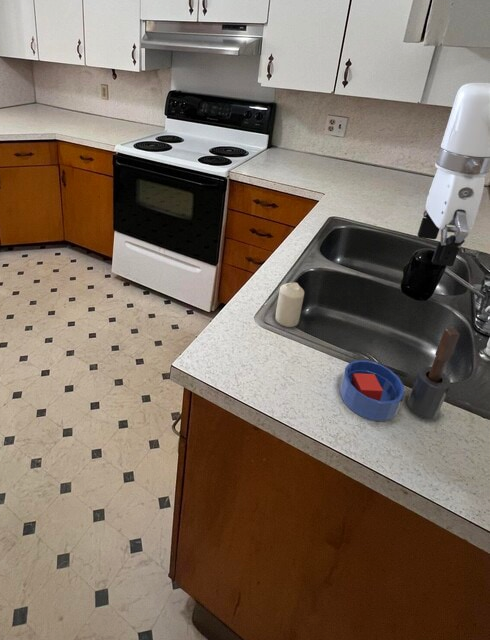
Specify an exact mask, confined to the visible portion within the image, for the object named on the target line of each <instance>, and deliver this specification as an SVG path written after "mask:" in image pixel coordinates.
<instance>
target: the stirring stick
mask: <svg viewBox="0 0 490 640" xmlns="http://www.w3.org/2000/svg"><path fill="white" fill-rule="evenodd" d="M460 335H461V334H460V333H459V332H458V331H457V329H456V328H451V327H450V328H449V327H445V328H444V330H443V333H442V335H441V338H440V340H439V343H438V346H437V349H436V351H435V354H434V355H435V357H434V360H433V362H432V365H431V366H430V367H431V370H430V373H429V375H428V379H429V380H431V381H433V382H435V383H439V381H440V378H441V376H442V374H443V373H444V372H445V369H446V366H447V364H448V362H450V360H451V358H452V355H453V353H454V350H455V348H456V345H457V343H458V341H459V338H460Z"/></svg>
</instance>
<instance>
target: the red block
mask: <svg viewBox="0 0 490 640" xmlns="http://www.w3.org/2000/svg"><path fill="white" fill-rule="evenodd" d="M351 384H352V385H353V386H354V387H355V388H356V389H357V390H358V391H359V392H360V393H362V394H364V395H365V396H367V397H369V398H372V399H375V400H378V401H380V399H381V396H382V393H383V390H382V388H381V386H380V384H379V382H378V380H377V378H376V376H375V374H361V373H353V377H352V380H351Z"/></svg>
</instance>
